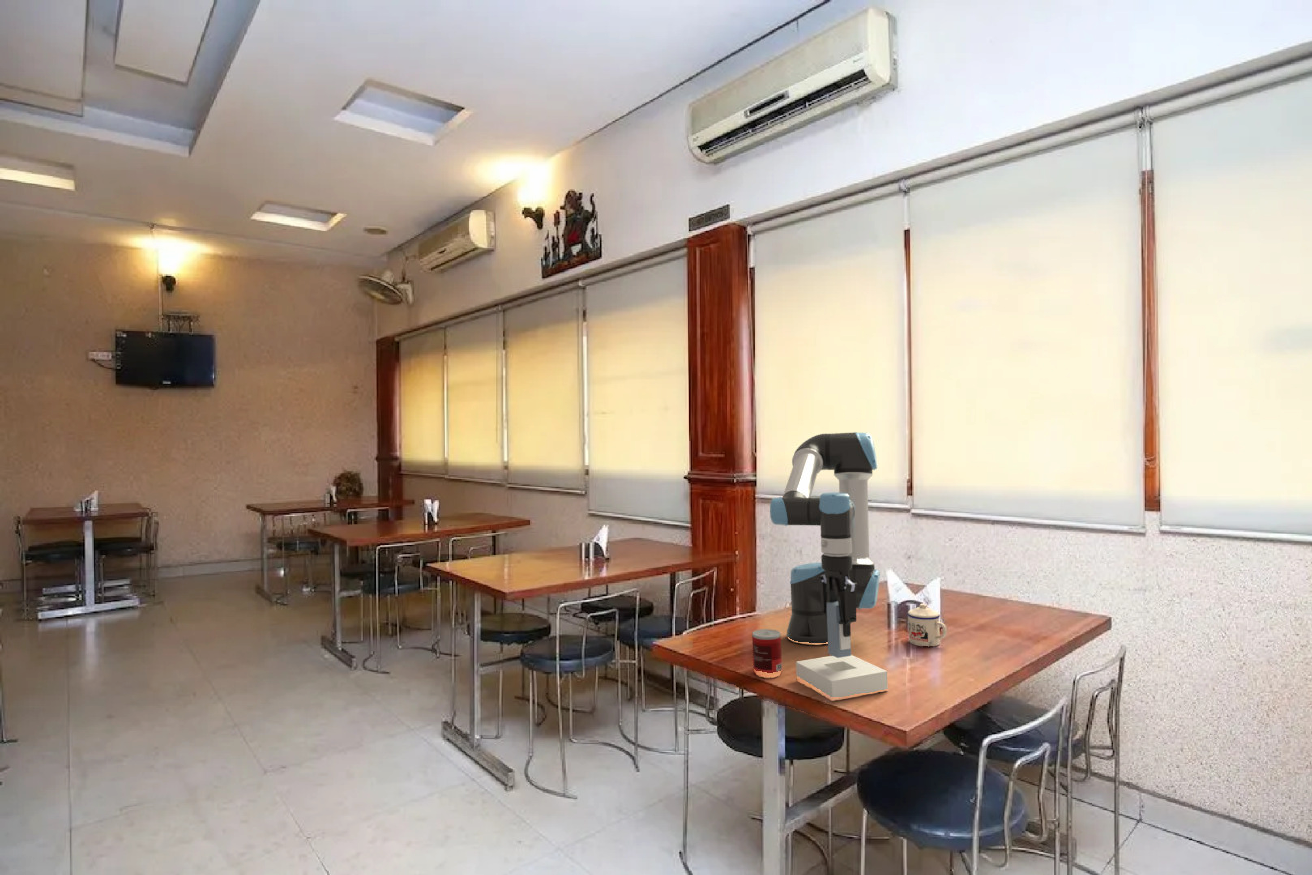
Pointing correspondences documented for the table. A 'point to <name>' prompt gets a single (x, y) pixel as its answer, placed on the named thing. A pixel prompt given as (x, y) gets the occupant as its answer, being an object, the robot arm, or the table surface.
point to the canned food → (767, 650)
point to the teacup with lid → (925, 626)
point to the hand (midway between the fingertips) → (839, 646)
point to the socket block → (842, 675)
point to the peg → (835, 631)
